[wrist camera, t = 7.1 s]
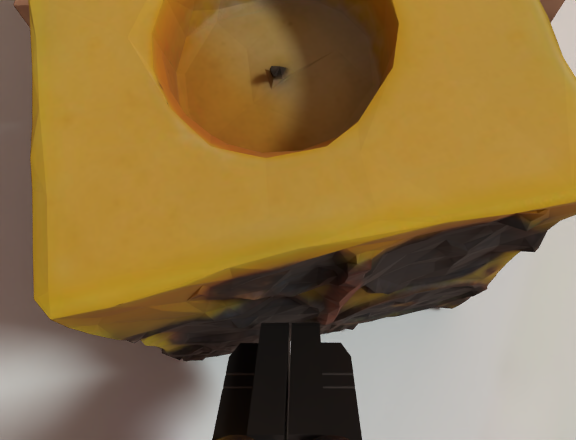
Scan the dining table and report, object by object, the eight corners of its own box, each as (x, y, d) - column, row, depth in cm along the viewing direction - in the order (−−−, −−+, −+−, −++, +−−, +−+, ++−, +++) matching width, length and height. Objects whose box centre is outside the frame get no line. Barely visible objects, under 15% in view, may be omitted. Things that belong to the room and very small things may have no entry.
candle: (390, 69, 21) (459, -206, 11) (472, 305, 17) (669, 187, 8) (149, 118, 20) (14, -126, 11) (182, 369, 17) (24, 327, 7)
